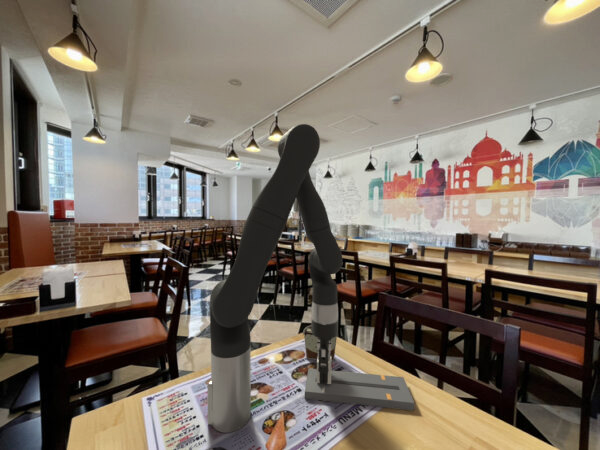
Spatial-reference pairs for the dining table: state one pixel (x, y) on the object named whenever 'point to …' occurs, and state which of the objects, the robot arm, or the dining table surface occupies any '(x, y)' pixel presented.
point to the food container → (312, 344)
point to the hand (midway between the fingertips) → (324, 372)
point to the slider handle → (328, 371)
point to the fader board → (361, 389)
